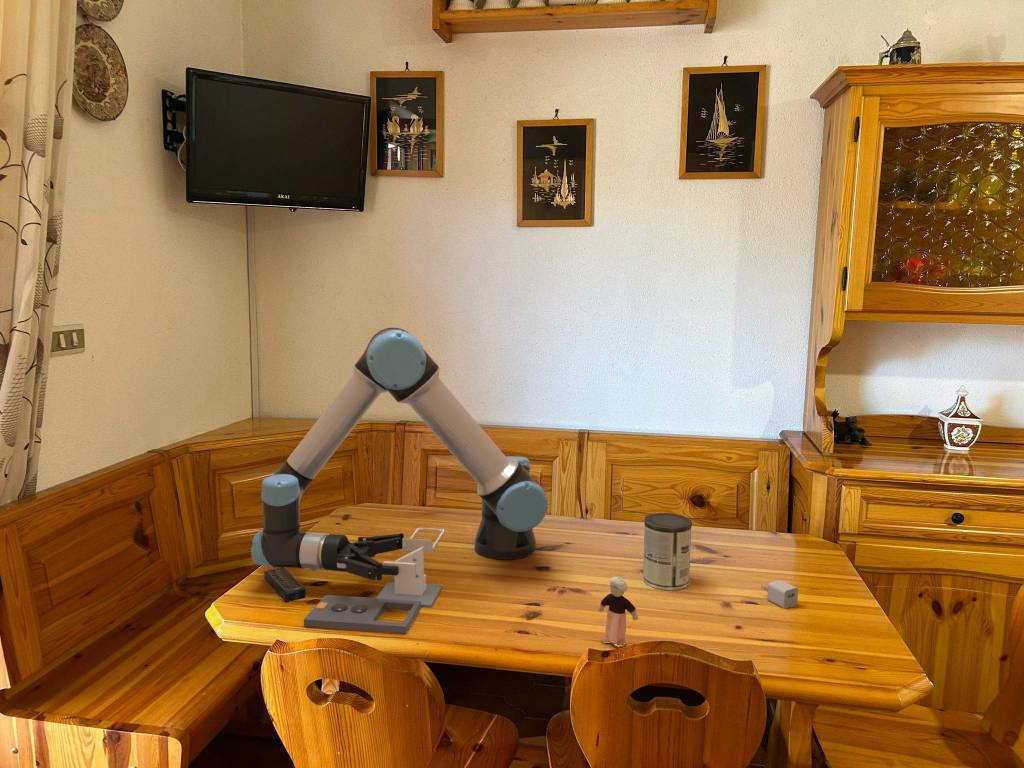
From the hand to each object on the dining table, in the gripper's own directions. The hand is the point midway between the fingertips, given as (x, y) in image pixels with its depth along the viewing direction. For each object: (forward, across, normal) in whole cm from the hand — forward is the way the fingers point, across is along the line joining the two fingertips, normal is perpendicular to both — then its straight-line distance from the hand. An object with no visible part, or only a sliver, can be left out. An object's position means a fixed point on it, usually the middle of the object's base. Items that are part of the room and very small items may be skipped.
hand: (424, 557), depth 151 cm
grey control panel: (-9, +11, -8) cm, 17 cm away
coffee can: (+51, -16, -9) cm, 54 cm away
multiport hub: (-31, 0, -9) cm, 32 cm away
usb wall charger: (+73, -9, -9) cm, 74 cm away
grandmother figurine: (+40, +14, -9) cm, 43 cm away
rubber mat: (-3, 0, -8) cm, 9 cm away
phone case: (-8, -32, -9) cm, 34 cm away
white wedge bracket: (-3, -1, -8) cm, 9 cm away
